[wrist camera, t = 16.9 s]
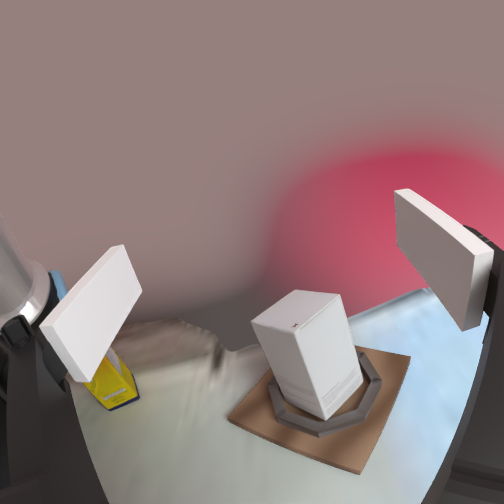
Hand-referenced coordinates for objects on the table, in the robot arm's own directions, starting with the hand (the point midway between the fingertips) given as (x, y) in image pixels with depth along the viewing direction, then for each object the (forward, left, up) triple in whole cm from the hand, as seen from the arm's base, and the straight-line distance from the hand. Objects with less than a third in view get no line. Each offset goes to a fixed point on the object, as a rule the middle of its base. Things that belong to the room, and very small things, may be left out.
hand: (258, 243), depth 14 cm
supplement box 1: (-33, -3, -28) cm, 43 cm away
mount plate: (-5, +12, -28) cm, 31 cm away
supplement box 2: (-5, +11, -26) cm, 29 cm away
